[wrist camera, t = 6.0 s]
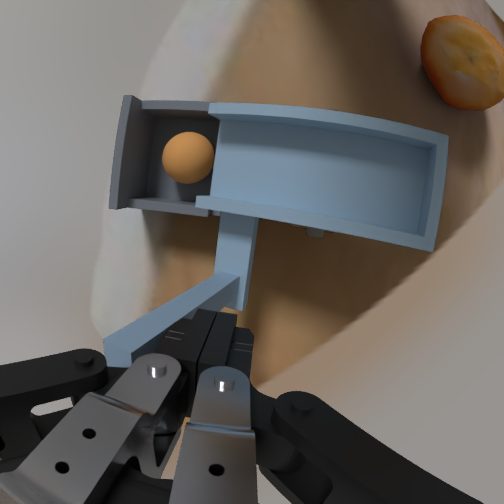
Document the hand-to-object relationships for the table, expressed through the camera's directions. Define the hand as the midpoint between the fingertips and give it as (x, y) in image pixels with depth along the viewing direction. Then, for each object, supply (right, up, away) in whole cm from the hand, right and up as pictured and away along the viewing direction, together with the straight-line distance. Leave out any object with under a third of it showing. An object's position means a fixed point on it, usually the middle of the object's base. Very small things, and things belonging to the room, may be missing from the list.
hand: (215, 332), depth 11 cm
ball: (-3, +9, +8) cm, 12 cm away
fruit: (+18, +19, +7) cm, 27 cm away
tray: (-3, +10, +10) cm, 14 cm away
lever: (+5, +5, +5) cm, 8 cm away
